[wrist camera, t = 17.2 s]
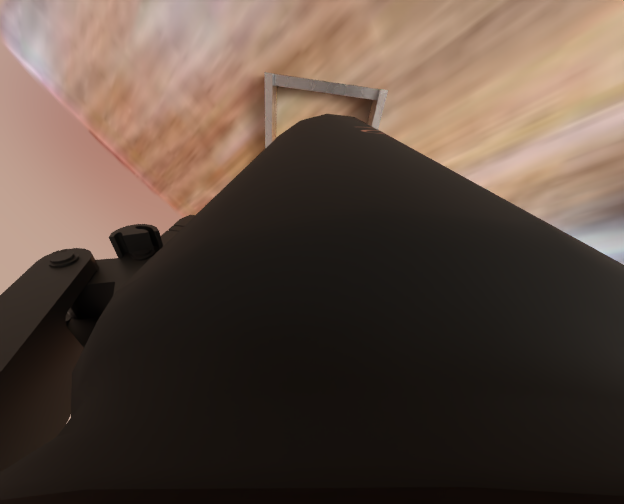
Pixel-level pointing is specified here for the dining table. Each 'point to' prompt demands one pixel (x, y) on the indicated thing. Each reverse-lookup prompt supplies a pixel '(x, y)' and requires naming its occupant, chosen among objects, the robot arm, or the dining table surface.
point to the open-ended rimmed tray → (317, 86)
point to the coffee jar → (348, 348)
